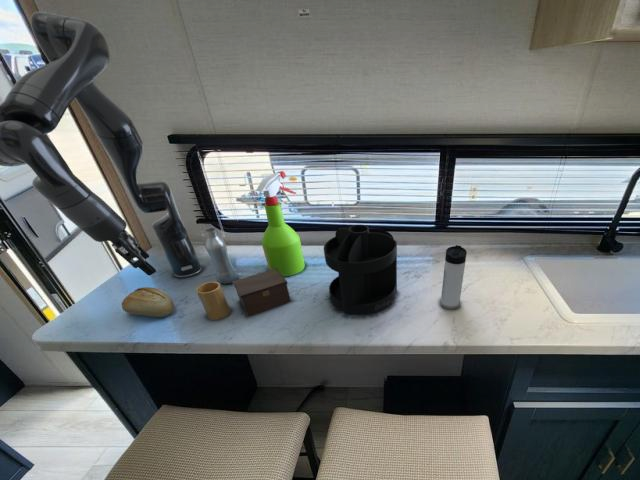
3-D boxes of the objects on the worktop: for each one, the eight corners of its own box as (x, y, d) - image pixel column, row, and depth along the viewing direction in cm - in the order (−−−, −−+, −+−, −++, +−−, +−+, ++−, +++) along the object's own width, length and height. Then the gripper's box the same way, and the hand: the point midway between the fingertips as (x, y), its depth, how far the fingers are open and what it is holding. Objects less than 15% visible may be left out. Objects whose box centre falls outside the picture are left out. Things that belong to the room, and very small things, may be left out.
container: (317, 309, 102) (304, 238, 88) (350, 275, 120) (343, 211, 105) (379, 324, 96) (376, 251, 82) (404, 286, 114) (405, 220, 99)
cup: (206, 312, 101) (194, 285, 95) (227, 305, 104) (217, 279, 98) (210, 322, 96) (198, 295, 91) (232, 314, 100) (222, 288, 94)
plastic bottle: (231, 286, 113) (212, 234, 101) (214, 284, 114) (194, 232, 102) (242, 277, 118) (225, 227, 106) (226, 275, 119) (208, 225, 107)
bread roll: (141, 302, 105) (130, 281, 100) (184, 304, 104) (174, 284, 99) (118, 320, 97) (104, 299, 92) (164, 323, 96) (153, 301, 91)
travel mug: (460, 299, 107) (468, 246, 96) (457, 310, 102) (465, 256, 91) (442, 296, 109) (448, 243, 97) (438, 306, 104) (444, 252, 92)
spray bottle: (319, 260, 130) (305, 171, 109) (287, 280, 117) (264, 183, 96) (294, 252, 135) (276, 166, 115) (261, 271, 122) (234, 177, 102)
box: (239, 301, 105) (231, 281, 101) (281, 287, 112) (276, 268, 108) (247, 317, 99) (240, 296, 94) (292, 301, 106) (287, 281, 101)
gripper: (115, 219, 68) (169, 270, 81) (106, 196, 76) (157, 246, 89) (79, 238, 66) (140, 287, 79) (73, 212, 74) (130, 260, 87)
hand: (149, 265), depth 84 cm, fingers open, 8 cm apart
